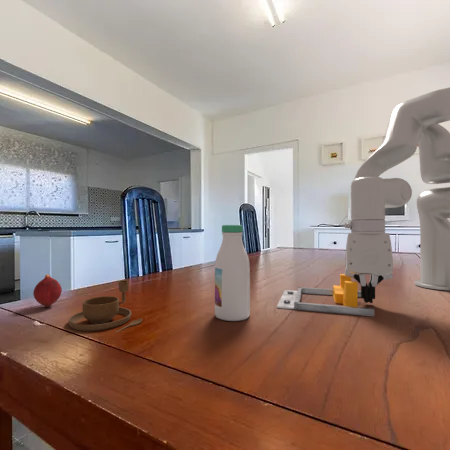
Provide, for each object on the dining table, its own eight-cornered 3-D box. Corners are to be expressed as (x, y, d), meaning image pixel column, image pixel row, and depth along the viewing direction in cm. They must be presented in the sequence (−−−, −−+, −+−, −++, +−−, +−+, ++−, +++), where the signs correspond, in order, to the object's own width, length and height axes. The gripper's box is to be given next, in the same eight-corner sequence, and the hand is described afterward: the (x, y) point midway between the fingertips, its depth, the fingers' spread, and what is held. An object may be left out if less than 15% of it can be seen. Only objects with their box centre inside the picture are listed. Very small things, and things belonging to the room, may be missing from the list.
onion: (66, 305, 70) (66, 273, 70) (43, 311, 65) (43, 277, 65) (51, 302, 72) (51, 271, 72) (28, 308, 67) (28, 275, 67)
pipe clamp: (333, 296, 78) (333, 273, 78) (349, 298, 77) (350, 274, 76) (337, 309, 66) (337, 282, 66) (357, 311, 65) (357, 283, 65)
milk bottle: (253, 312, 64) (253, 224, 64) (244, 323, 56) (244, 224, 56) (221, 309, 66) (221, 224, 66) (209, 319, 59) (209, 224, 59)
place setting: (46, 325, 57) (46, 296, 57) (122, 301, 75) (122, 279, 75) (106, 341, 49) (106, 308, 49) (175, 310, 67) (175, 286, 67)
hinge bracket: (284, 291, 84) (284, 286, 84) (361, 296, 78) (361, 291, 78) (276, 307, 67) (276, 301, 67) (374, 316, 61) (374, 309, 61)
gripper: (336, 227, 68) (336, 303, 68) (406, 227, 63) (407, 308, 63) (334, 227, 75) (334, 295, 75) (398, 227, 71) (398, 300, 71)
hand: (367, 301), depth 69 cm, fingers closed
